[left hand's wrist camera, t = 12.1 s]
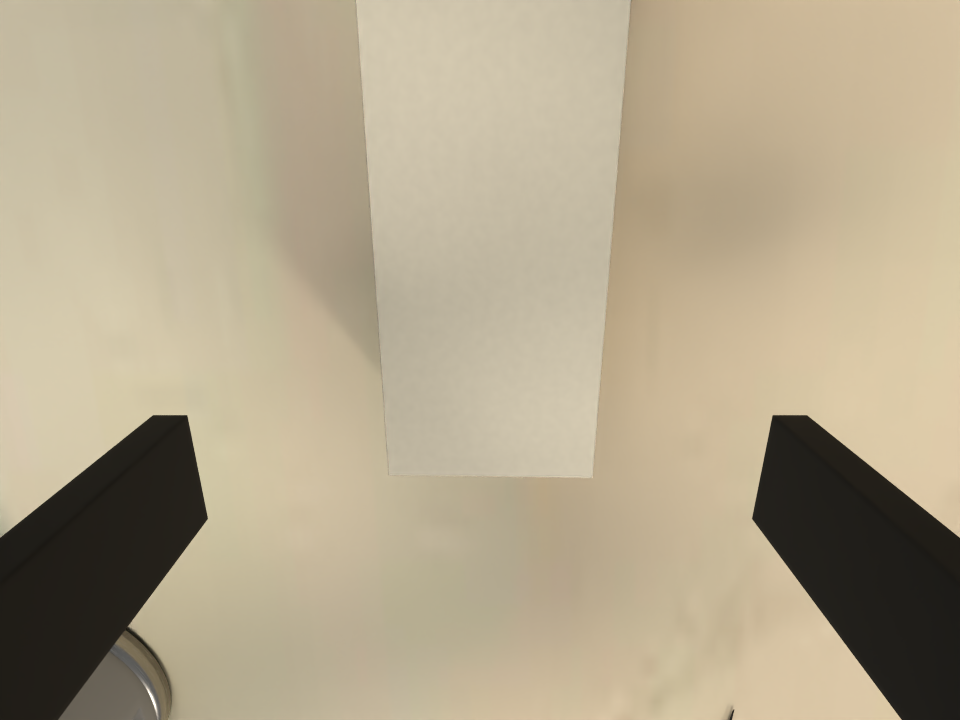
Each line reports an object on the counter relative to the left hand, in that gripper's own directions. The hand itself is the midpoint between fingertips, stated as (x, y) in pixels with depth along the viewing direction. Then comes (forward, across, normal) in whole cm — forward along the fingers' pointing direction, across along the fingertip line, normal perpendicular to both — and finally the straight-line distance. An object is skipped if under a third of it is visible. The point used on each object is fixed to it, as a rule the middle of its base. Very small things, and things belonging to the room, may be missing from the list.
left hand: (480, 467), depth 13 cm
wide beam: (+16, 0, -29) cm, 33 cm away
